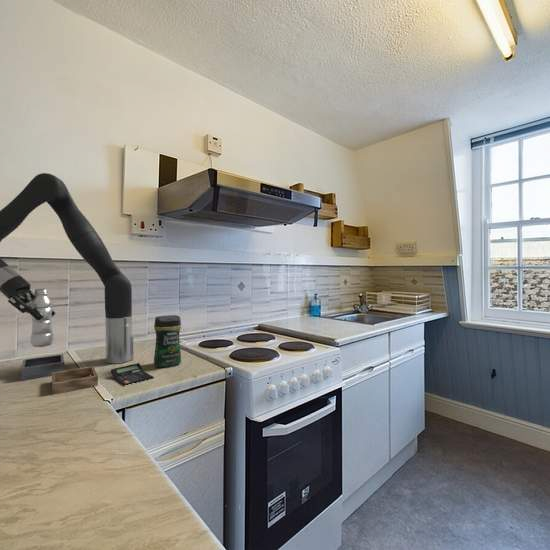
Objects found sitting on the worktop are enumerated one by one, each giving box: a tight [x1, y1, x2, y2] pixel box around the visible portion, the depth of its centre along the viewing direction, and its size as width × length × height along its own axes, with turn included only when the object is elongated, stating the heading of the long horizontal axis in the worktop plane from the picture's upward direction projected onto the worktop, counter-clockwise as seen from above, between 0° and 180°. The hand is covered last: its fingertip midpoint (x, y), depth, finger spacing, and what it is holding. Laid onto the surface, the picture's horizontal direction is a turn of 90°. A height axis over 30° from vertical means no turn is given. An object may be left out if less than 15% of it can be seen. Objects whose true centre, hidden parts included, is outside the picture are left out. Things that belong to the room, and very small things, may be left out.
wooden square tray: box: [51, 366, 99, 395], centre depth 100 cm, size 12×12×3 cm
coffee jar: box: [153, 314, 182, 368], centre depth 119 cm, size 10×8×19 cm
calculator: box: [110, 362, 154, 387], centre depth 106 cm, size 9×12×3 cm
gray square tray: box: [20, 354, 66, 382], centre depth 110 cm, size 12×12×4 cm
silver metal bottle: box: [29, 288, 55, 348], centre depth 109 cm, size 6×7×20 cm
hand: (47, 316), depth 110 cm, fingers closed on silver metal bottle, 6 cm apart
